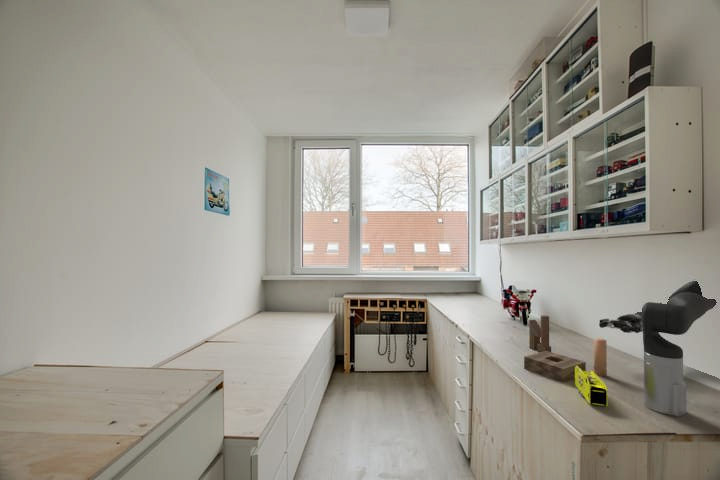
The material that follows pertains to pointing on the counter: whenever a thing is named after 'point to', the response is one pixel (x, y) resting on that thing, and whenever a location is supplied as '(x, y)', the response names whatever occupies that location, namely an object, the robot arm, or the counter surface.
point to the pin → (600, 357)
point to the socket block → (553, 365)
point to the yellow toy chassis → (591, 387)
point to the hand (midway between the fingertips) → (611, 327)
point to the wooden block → (539, 334)
